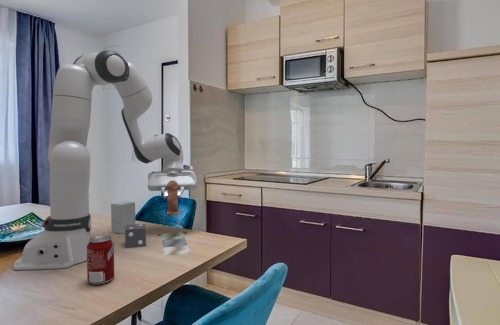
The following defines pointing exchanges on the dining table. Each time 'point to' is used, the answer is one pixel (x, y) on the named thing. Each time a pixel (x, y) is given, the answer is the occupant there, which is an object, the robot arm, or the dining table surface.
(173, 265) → the dining table surface
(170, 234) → the game board
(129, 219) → the supplement box
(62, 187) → the robot arm
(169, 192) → the pawn
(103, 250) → the soda can
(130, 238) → the die
